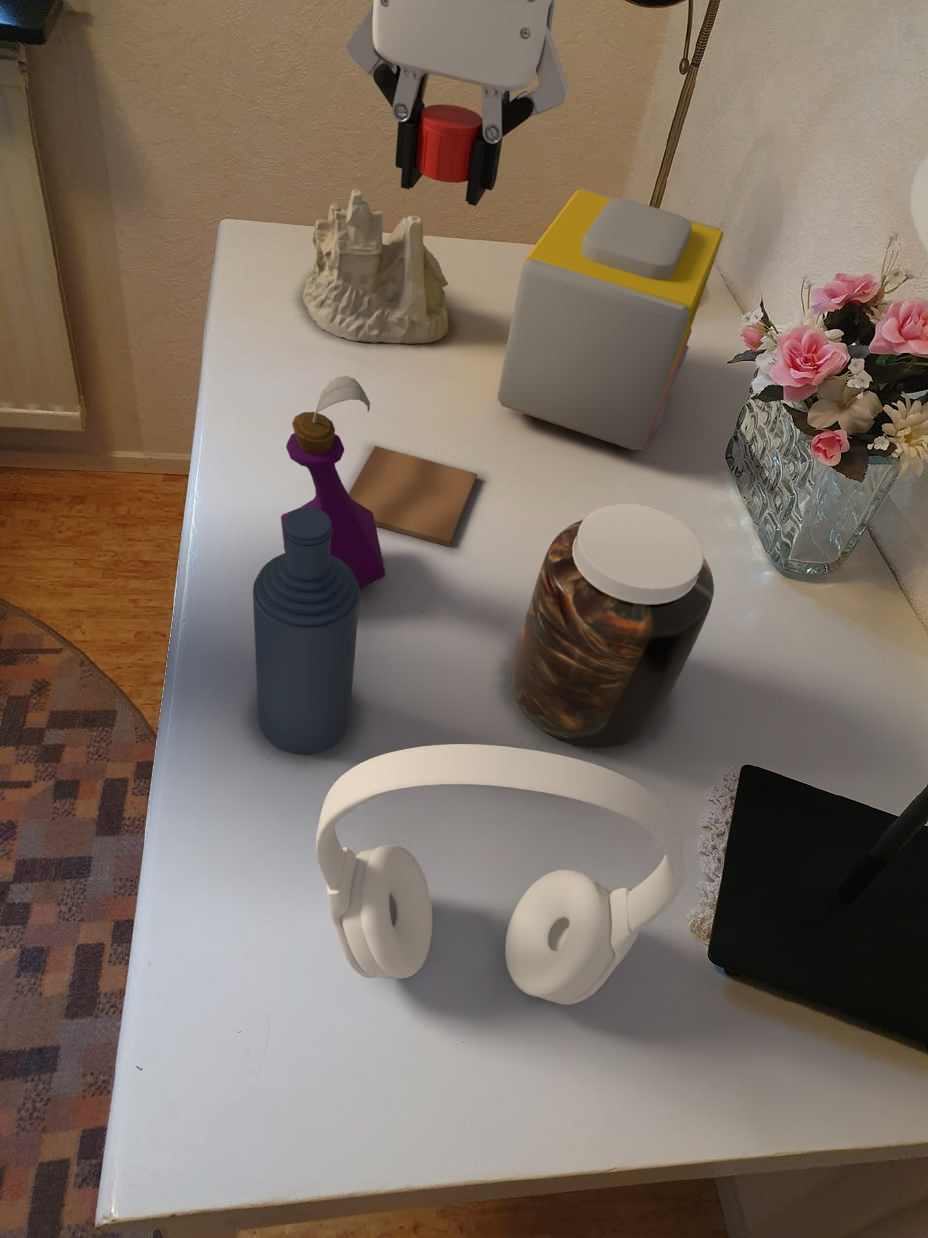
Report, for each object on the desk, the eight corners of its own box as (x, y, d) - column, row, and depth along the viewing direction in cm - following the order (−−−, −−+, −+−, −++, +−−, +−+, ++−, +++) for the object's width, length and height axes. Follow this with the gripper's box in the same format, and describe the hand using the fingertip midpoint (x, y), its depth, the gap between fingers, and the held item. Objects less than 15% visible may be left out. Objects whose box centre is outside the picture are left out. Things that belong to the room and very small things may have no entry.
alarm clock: (640, 473, 90) (702, 299, 77) (489, 422, 93) (523, 244, 79) (678, 376, 103) (737, 213, 90) (545, 333, 106) (582, 168, 92)
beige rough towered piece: (450, 349, 100) (463, 207, 90) (296, 339, 99) (292, 193, 88) (446, 286, 111) (457, 154, 101) (308, 276, 110) (305, 140, 99)
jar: (629, 777, 66) (697, 639, 55) (485, 703, 69) (522, 557, 58) (681, 671, 74) (750, 531, 63) (550, 608, 76) (594, 463, 65)
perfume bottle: (288, 610, 72) (287, 419, 59) (280, 544, 77) (278, 353, 64) (383, 604, 74) (403, 418, 61) (370, 540, 79) (386, 354, 66)
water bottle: (243, 739, 64) (230, 542, 50) (278, 671, 68) (276, 473, 55) (331, 765, 63) (343, 574, 50) (361, 695, 68) (379, 502, 54)
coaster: (338, 515, 80) (338, 510, 80) (374, 450, 87) (374, 445, 87) (449, 546, 80) (449, 541, 79) (476, 478, 86) (477, 473, 86)
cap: (487, 172, 61) (494, 119, 59) (452, 188, 59) (459, 133, 56) (440, 152, 62) (445, 99, 60) (404, 167, 60) (408, 112, 57)
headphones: (324, 874, 58) (336, 674, 43) (612, 915, 59) (720, 732, 44) (302, 989, 53) (306, 807, 38) (616, 1031, 54) (738, 869, 39)
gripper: (649, -145, 50) (575, 197, 63) (355, -207, 51) (344, 140, 65) (630, -124, 45) (554, 243, 58) (304, -194, 46) (304, 180, 59)
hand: (444, 186), depth 61 cm, fingers closed on cap, 3 cm apart
